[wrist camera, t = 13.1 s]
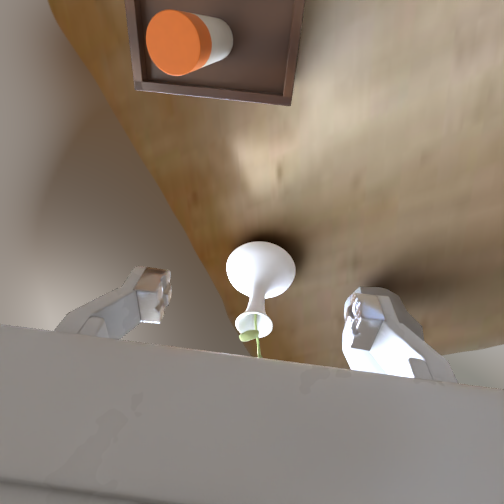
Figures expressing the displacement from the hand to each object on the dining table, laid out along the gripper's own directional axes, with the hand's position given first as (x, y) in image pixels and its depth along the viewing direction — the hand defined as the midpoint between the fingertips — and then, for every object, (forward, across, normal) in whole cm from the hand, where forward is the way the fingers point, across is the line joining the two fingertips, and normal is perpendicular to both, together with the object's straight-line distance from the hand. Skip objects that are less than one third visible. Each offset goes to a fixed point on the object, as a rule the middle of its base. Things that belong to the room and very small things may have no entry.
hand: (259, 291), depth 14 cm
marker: (+21, +6, -9) cm, 24 cm away
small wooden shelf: (+33, +6, -9) cm, 35 cm away
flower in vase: (+33, 0, +24) cm, 41 cm away
